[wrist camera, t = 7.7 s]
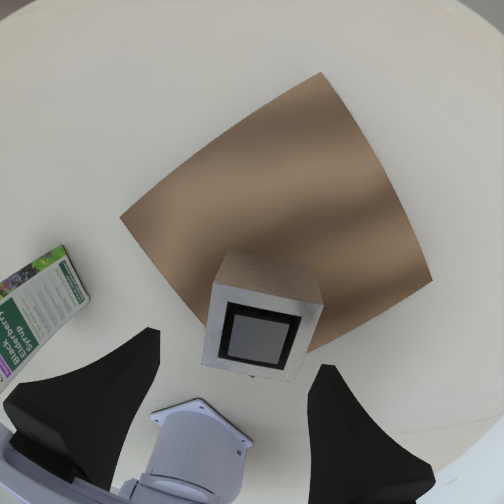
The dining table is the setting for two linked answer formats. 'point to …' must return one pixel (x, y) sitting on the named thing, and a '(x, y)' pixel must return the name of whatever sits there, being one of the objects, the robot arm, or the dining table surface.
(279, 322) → the dark grey block
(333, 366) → the robot arm
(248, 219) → the board
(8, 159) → the dining table surface
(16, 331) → the syrup box
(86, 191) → the dining table surface
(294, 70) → the dining table surface
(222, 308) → the cube with square recess
